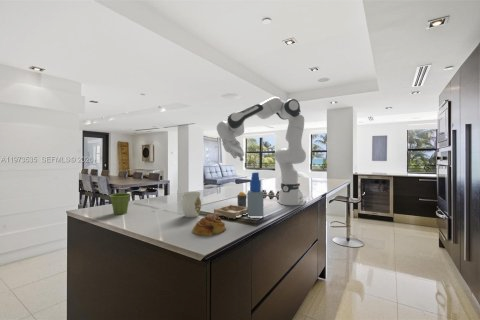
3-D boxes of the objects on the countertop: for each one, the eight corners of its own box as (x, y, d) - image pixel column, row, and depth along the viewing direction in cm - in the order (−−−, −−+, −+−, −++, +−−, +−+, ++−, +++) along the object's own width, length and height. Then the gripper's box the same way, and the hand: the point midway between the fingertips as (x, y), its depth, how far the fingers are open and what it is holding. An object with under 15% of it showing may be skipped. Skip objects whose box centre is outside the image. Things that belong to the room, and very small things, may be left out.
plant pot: (117, 216, 138) (116, 197, 138) (105, 214, 144) (104, 195, 144) (135, 212, 148) (135, 194, 148) (124, 210, 154) (123, 192, 154)
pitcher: (207, 212, 147) (207, 189, 147) (193, 220, 130) (193, 194, 129) (191, 211, 150) (191, 189, 150) (175, 218, 133) (175, 193, 133)
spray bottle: (262, 214, 141) (262, 171, 140) (264, 219, 132) (263, 173, 131) (247, 214, 141) (247, 171, 140) (247, 219, 132) (247, 173, 131)
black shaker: (241, 207, 159) (241, 194, 158) (247, 209, 155) (247, 195, 155) (235, 209, 154) (235, 195, 154) (242, 210, 151) (242, 196, 151)
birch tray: (230, 210, 152) (230, 204, 152) (250, 213, 143) (250, 207, 143) (214, 215, 140) (213, 209, 140) (234, 219, 131) (234, 213, 131)
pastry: (230, 230, 114) (230, 213, 114) (204, 238, 103) (204, 220, 103) (213, 224, 123) (213, 208, 123) (187, 231, 113) (187, 214, 113)
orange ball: (241, 197, 157) (241, 191, 157) (246, 197, 155) (246, 191, 155) (237, 198, 154) (237, 191, 154) (242, 198, 152) (242, 192, 152)
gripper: (225, 135, 150) (234, 152, 145) (240, 143, 168) (249, 159, 162) (217, 141, 152) (226, 158, 147) (233, 148, 170) (242, 164, 164)
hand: (238, 159), depth 155 cm, fingers open, 8 cm apart
